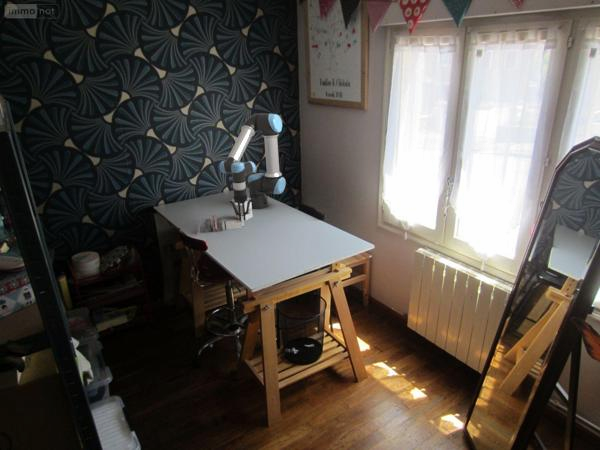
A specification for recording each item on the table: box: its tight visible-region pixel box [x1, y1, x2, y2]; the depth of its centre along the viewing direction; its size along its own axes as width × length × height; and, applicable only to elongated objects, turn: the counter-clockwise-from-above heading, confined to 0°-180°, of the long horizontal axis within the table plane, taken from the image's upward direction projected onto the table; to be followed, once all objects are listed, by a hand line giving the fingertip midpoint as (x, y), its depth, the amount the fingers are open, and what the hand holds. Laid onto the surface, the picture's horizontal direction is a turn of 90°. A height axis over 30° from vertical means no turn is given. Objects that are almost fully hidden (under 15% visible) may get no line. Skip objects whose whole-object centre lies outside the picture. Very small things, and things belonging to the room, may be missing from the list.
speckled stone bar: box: [215, 219, 243, 231], centre depth 255 cm, size 16×4×4 cm, turn 99°
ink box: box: [234, 200, 254, 221], centre depth 271 cm, size 9×9×12 cm
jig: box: [204, 214, 224, 233], centre depth 255 cm, size 32×9×9 cm, turn 99°
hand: (243, 225), depth 257 cm, fingers closed
